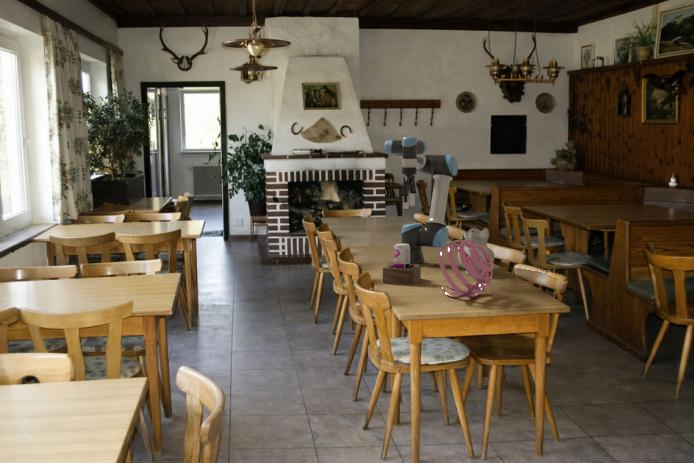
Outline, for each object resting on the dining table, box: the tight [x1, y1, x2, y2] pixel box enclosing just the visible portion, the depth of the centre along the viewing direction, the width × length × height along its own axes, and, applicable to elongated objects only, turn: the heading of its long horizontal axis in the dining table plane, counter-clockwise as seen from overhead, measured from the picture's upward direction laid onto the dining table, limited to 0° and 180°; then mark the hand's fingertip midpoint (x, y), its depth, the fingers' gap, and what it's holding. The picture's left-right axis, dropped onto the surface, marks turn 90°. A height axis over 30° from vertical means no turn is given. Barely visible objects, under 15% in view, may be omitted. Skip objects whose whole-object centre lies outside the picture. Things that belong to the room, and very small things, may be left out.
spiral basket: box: [438, 239, 494, 299], centre depth 357 cm, size 28×28×27 cm
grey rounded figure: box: [457, 227, 495, 275], centre depth 411 cm, size 22×20×25 cm
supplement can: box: [393, 242, 410, 269], centre depth 392 cm, size 8×8×15 cm
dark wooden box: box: [382, 262, 422, 286], centre depth 393 cm, size 16×16×8 cm
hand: (409, 207), depth 402 cm, fingers open, 13 cm apart
